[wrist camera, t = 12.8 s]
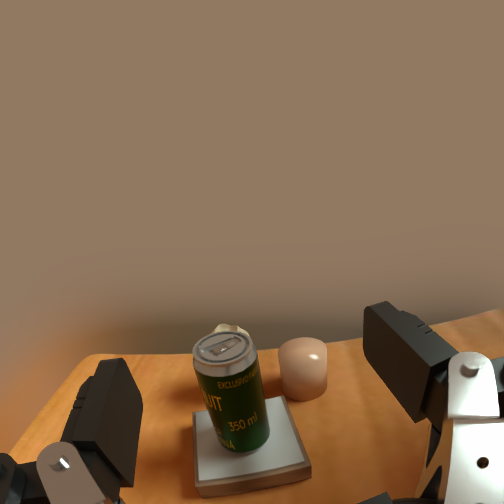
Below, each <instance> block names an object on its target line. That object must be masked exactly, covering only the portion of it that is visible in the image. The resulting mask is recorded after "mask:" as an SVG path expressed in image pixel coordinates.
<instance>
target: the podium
mask: <svg viewBox="0 0 504 504" xmlns="http://www.w3.org/2000/svg"><path fill="white" fill-rule="evenodd" d="M265 403H266V409H267V415H268V420H269V426H270V435H269V438H268V440H267V441H266V443H265V445H264V446H263V447H262V448H260V449H259V450H257V451H255V452H253V453H249V454H236V453H233V452H230V451H229V450H227V449H226V448H224V447H223V446H222V445H221V444H220V442H219V441H218V438H217V435H216V433H215V430H214V427H213V424H212V421H211V418H210V416H209V413H208V410H204V411H197V412H192V420H193V452H194V473H195V487H196V489H197V491H198V492H199V494H200V495H201V497H202V498H209V497H218V496H226V495H233V494H239V493H245V492H251V491H257V490H262V489H267V488H272V487H276V486H281V485H285V484H289V483H293V482H297V481H301V480H305V479H308V478H311V463H310V461H309V458H308V456H307V453H306V451H305V448H304V446H303V443H302V441H301V438H300V435H299V433H298V430H297V428H296V425H295V423H294V420H293V417H292V415H291V412H290V410H289V407H288V404H287V402H286V399H285V396H284V395H282V396H278V397H273V398H269V399H265Z"/></svg>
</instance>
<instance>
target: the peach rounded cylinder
mask: <svg viewBox="0 0 504 504" xmlns="http://www.w3.org/2000/svg"><path fill="white" fill-rule="evenodd" d="M278 357H279V365H280V373H281V382H282V390H283V392H284V394H285V395H286V396H287V397H288V398H290V399H293V400H296V401H309V400H313V399H316V398H318V397H319V396H321V395H322V394H323V393H324V392H325V390H326V388H327V348H326V346H325V344H324V343H323V342H321V341H320V340H317V339H314V338H307V337H306V338H305V337H304V338H296V339H293V340H290V341H288V342H286V343H284V344H283V345H282V346H281V347H280V349H279V351H278Z"/></svg>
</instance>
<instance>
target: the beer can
mask: <svg viewBox="0 0 504 504" xmlns="http://www.w3.org/2000/svg"><path fill="white" fill-rule="evenodd" d="M193 356H194V357H193V366H194V370H195V373H196V376H197V379H198V382H199V386H200V389H201V392H202V395H203V398H204V401H205V404H206V407H207V410H208V413H209V416H210V418H211V421H212V424H213V427H214V430H215V433H216V435H217V438H218V441H219V442H220V444H221V445H222V446H223V447H224V448H226V449H227V450H229V451H230V452H233V453H236V454H249V453H253V452H255V451H257V450H259V449H260V448H262V447H263V446H264V445H265V443H266V441H267V440H268V438H269V435H270V426H269V420H268V415H267V409H266V403H265V397H264V391H263V385H262V379H261V373H260V367H259V361H258V355H257V351H256V348H255V347H254V345H253V343H252V340H251V338H250V337H249V336H248V335H247V334H245V333H242V332H239V331H220V332H215V333H212V334H210V335H207V336H205V337H203V338H202V339H200V340H199V341H198V342H197V343H196V344H195V346H194V348H193Z"/></svg>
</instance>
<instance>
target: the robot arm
mask: <svg viewBox="0 0 504 504" xmlns="http://www.w3.org/2000/svg"><path fill="white" fill-rule="evenodd" d="M363 350H364V354H365V357H366V359H367V361H368V362H369V363H370V365H371V366H372V367H373V369H374V370H375V371H376V373H377V374H378V375H379V376H380V378H381V379H382V380H383V382H384V383H385V384H386V386H387V387H388V388H389V389H390V391H391V392H392V393H393V395H394V396H395V397H396V399H397V400H398V401H399V403H400V404H401V405H402V407H403V408H404V409H405V411H406V412H407V413H408V415H409V416H410V417H411V419H412V420H413V421H414V423H417V422H419V421H421V420H423V419H425V418H428V419H429V420H430V421H431V422H430V425H429V429H428V437H427V444H426V450H425V457H424V462H423V468H422V473H421V477H420V480H419V483H418V485H417V488H416V491H415V494H414V497H413V498H401V499H394V500H391V499H390V497H389V495H388V493H387V492H385V493H382V494H380V495H378V496H375V497H373V498H370V499H368V500H365V501H363V502H360V503H358V504H504V357H501V358H497V359H493V360H489V359H488V358H487V357H485V356H484V355H482V354H480V353H477V352H461V353H459V352H458V351H457V350H455V349H454V348H453V347H452V346H451V345H450V344H449V343H447V342H446V341H445V340H444V339H443V338H442V337H440V336H439V335H438V334H437V333H436V332H433V331H432V329H431V328H430V327H429V326H427V325H425V323H424V322H423V321H421V320H420V319H419V318H418V317H417V316H415V315H412V314H410V313H407V312H405V311H398V310H397V309H396V308H395V307H394V306H392V305H391V304H390V303H389V302H387V301H384V302H381V303H377V304H374V305H371V306H367V307H366V308H365V310H364V324H363ZM142 412H143V402H142V397H141V394H140V391H139V389H138V387H137V385H136V383H135V381H134V379H133V377H132V375H131V373H130V370H129V368H128V366H127V364H126V362H125V360H124V359H123V358H116V359H108V360H101V361H100V362H99V364H98V367H97V369H96V372H95V374H94V376H90V377H89V378H88V379H87V380H86V381H85V382H84V383H83V384H82V386H81V387H80V389H79V392H78V394H77V397H76V400H75V402H74V404H73V409H72V410H71V412H70V415H69V417H68V420H67V423H66V426H65V428H64V431H63V434H62V437H61V440H60V442H56V443H52V444H50V445H48V446H47V447H45V448H44V449H43V450H42V451H41V453H40V454H39V456H38V458H37V461H34V462H29V463H24V464H17V463H16V462H15V461H14V460H13V458H12V457H11V456H9V455H8V454H5V453H0V504H126V503H125V502H124V501H123V499H122V498H121V497H120V496H119V492H120V487H133V485H134V475H135V465H136V457H137V448H138V441H139V433H140V426H141V419H142Z"/></svg>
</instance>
